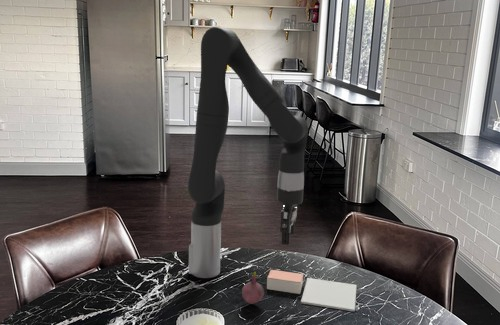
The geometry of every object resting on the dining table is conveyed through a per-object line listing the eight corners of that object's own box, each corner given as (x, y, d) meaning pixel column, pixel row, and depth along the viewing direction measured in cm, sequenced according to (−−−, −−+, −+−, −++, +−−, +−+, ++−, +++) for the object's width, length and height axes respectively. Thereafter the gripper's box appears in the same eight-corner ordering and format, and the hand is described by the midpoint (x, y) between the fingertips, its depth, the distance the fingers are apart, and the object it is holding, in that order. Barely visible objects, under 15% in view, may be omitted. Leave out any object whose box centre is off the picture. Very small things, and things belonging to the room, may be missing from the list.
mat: (300, 303, 136) (300, 301, 136) (307, 279, 150) (307, 277, 150) (354, 311, 133) (354, 309, 132) (356, 286, 147) (356, 284, 147)
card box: (266, 289, 143) (267, 277, 142) (270, 281, 149) (270, 269, 148) (300, 294, 141) (300, 282, 140) (302, 286, 146) (303, 274, 146)
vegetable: (259, 312, 130) (260, 278, 128) (238, 307, 132) (239, 274, 130) (265, 301, 136) (267, 269, 134) (245, 297, 138) (246, 265, 136)
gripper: (282, 178, 145) (279, 229, 149) (272, 191, 132) (270, 246, 135) (306, 180, 143) (303, 231, 147) (300, 194, 130) (296, 249, 134)
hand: (287, 238), depth 141 cm, fingers open, 8 cm apart
